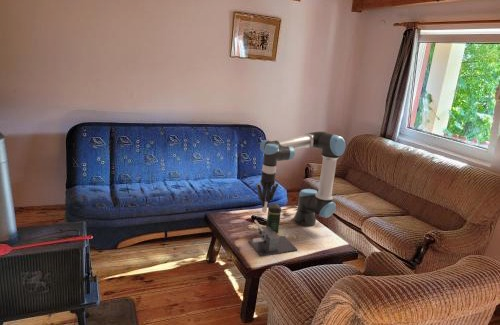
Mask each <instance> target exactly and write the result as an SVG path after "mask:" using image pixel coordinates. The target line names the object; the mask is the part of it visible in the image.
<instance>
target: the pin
mask: <svg viewBox="0 0 500 325" xmlns="http://www.w3.org/2000/svg"><path fill="white" fill-rule="evenodd" d="M274 232H275V231H274ZM275 233H276V232H275ZM276 234H277V233H276ZM277 235H278V236H280V235H279V233H278V234H277ZM251 240H252V242H253V244H254V243H262V242H266V240H264V237H262V238H259V237H257V238H256V237H255V238H252V239H251Z"/></svg>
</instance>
